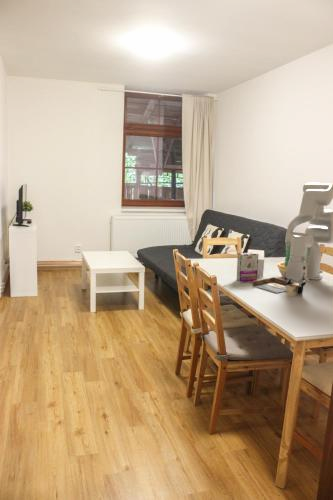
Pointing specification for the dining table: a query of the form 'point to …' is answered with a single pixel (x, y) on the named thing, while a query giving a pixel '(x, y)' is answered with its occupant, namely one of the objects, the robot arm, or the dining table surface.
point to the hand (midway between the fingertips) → (294, 291)
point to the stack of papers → (259, 261)
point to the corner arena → (271, 284)
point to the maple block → (292, 289)
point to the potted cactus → (284, 265)
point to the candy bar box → (247, 267)
